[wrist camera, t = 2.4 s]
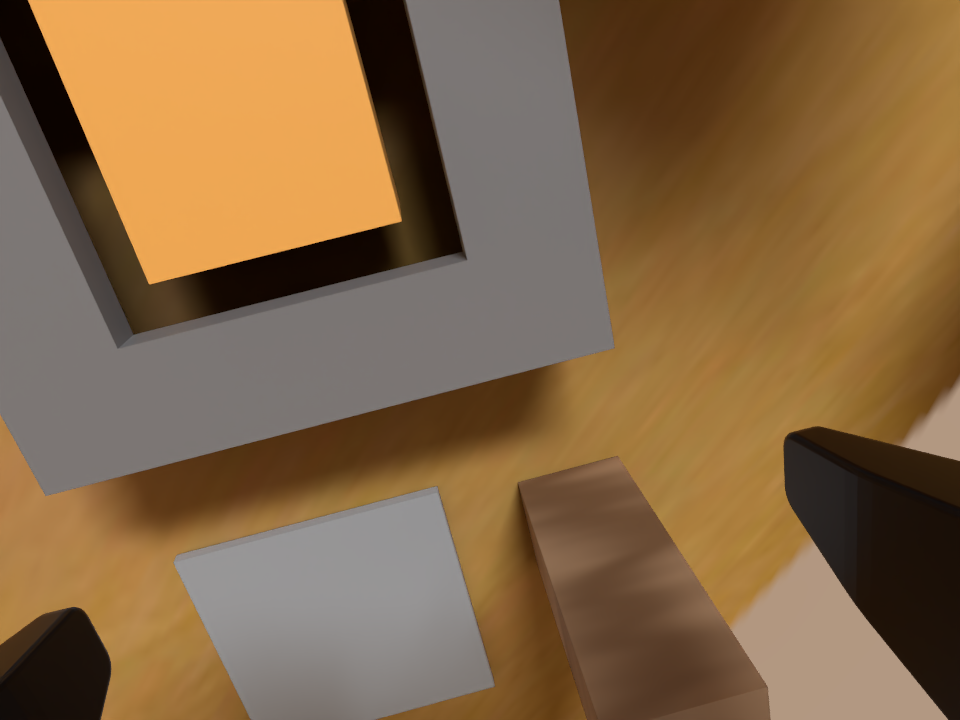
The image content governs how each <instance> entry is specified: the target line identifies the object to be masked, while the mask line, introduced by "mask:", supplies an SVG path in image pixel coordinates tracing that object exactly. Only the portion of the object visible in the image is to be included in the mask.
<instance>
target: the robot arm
mask: <svg viewBox="0 0 960 720" xmlns="http://www.w3.org/2000/svg"><path fill="white" fill-rule="evenodd" d="M784 475H785V491H786V495H787V498H788V501H789V503H790V505H791V507H792V509H793V510H794V512H795V513H796V515H797V517H798V518H799V520H800V521H801V523H802V524H803V526H804V527H805V529H806V530H807V532H808V533H809V535H810V536H811V538H812V540H813V541H814V543H815V544H816V546H817V547H818V549H819V550H820V552H821V553H822V555H823V556H824V558H825V559H826V561H827V563H828V564H829V566H830V567H831V568H832V570H833V572H834V573H835V575H836V576H837V578H838V579H839V581H840V582H841V584H842V586H843V587H844V589H845V590H846V592H847V593H848V594H849V596H850V597H851V599H852V600H853V602H854V603H855V605H856V606H857V607H858V609H859V610H860V611H861V612H862V614H863V615H864V616H865V618H866V619H867V620H868V621H869V623H870V624H871V625H872V626H873V628H874V629H875V630H876V631H877V633H878V634H879V635H880V636H881V637H882V638H883V640H884V641H885V642H886V644H887V645H888V646H889V647H890V648H891V650H892V651H893V652H894V653H895V655H896V656H897V657H898V658H899V660H900V661H901V662H902V663H903V665H904V666H905V667H906V668H907V669H908V671H909V672H910V673H911V674H912V675H913V677H914V678H915V679H916V680H917V682H918V683H919V684H920V685H921V687H922V688H923V689H924V690H925V691H926V693H927V694H928V695H929V697H930V698H931V699H932V700H933V701H934V703H935V704H936V705H937V706H938V708H939V709H940V710H941V711H942V713H943V714H944V715H945V716H946V717H947V719H948V720H960V461H957V460H953V459H949V458H945V457H941V456H937V455H933V454H929V453H925V452H921V451H917V450H913V449H909V448H905V447H901V446H897V445H893V444H889V443H885V442H881V441H877V440H873V439H869V438H865V437H861V436H857V435H853V434H848V433H844V432H840V431H836V430H832V429H828V428H824V427H819V426H817V427H811V428H807V429H802V430H798V431H794V432H791V433H789V434H788V435H787V436H786V437H785V440H784ZM110 677H111V661H110V657H109V655H108V652H107V650H106V649H105V647H104V645H103V643H102V641H101V639H100V637H99V636H98V634H97V632H96V630H95V628H94V626H93V625H92V623H91V621H90V619H89V617H88V615H87V614H86V613H85V612H84V611H83V610H82V609H80V608H77V607H70V608H66V609H62V610H58V611H54V612H50V613H46V614H43V615H41V616H39V617H38V618H36V619H35V620H34V621H32V622H31V623H30V624H28V625H27V626H25V627H24V628H23V629H21V630H20V631H19V632H17V633H16V634H15V635H13V636H12V637H11V638H9V639H8V640H6V641H5V642H4V643H2V644H1V645H0V720H101V716H102V712H103V707H104V703H105V699H106V694H107V690H108V686H109V681H110Z"/></svg>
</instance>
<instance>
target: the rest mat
mask: <svg viewBox="0 0 960 720" xmlns="http://www.w3.org/2000/svg"><path fill="white" fill-rule="evenodd" d="M173 563H174V565H175V567H176V569H177V571H178V573H179V575H180V577H181V579H182V581H183V583H184V585H185V587H186V589H187V591H188V593H189V595H190V597H191V599H192V601H193V603H194V605H195V607H196V609H197V611H198V614H199V616H200V618H201V620H202V622H203V624H204V626H205V628H206V630H207V632H208V634H209V636H210V638H211V640H212V642H213V644H214V646H215V648H216V650H217V652H218V654H219V656H220V658H221V660H222V662H223V664H224V666H225V668H226V670H227V672H228V674H229V676H230V679H231V681H232V683H233V685H234V687H235V689H236V691H237V693H238V695H239V697H240V699H241V701H242V703H243V705H244V707H245V709H246V711H247V713H248V715H249V717H250V719H251V720H376V719H379V718H383V717H387V716H390V715H394V714H398V713H401V712H405V711H408V710H412V709H416V708H419V707H423V706H426V705H430V704H434V703H437V702H441V701H445V700H448V699H452V698H455V697H459V696H463V695H466V694H470V693H473V692H477V691H481V690H484V689H488V688H492V687H495V684H494V679H493V675H492V672H491V668H490V665H489V661H488V658H487V655H486V651H485V648H484V644H483V641H482V638H481V634H480V631H479V627H478V624H477V620H476V617H475V614H474V610H473V607H472V603H471V600H470V596H469V593H468V590H467V586H466V583H465V579H464V576H463V573H462V569H461V566H460V562H459V559H458V555H457V552H456V549H455V545H454V542H453V538H452V535H451V532H450V528H449V525H448V521H447V518H446V514H445V511H444V508H443V504H442V501H441V497H440V494H439V490H438V487H437V486H436V487H432V488H428V489H424V490H421V491H417V492H413V493H409V494H406V495H402V496H398V497H394V498H391V499H387V500H383V501H379V502H375V503H372V504H368V505H364V506H360V507H357V508H353V509H349V510H345V511H341V512H338V513H334V514H330V515H326V516H323V517H319V518H315V519H311V520H307V521H304V522H300V523H296V524H292V525H289V526H285V527H281V528H277V529H273V530H270V531H266V532H262V533H258V534H255V535H251V536H247V537H243V538H240V539H236V540H232V541H228V542H224V543H221V544H217V545H213V546H209V547H206V548H202V549H198V550H194V551H190V552H187V553H183V554H179V555H177V556H176V558H175V560H174V562H173Z"/></svg>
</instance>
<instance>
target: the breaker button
mask: <svg viewBox="0 0 960 720" xmlns="http://www.w3.org/2000/svg"><path fill="white" fill-rule="evenodd" d="M28 2H29V4H30V6H31V9H32V11H33V13H34V16H35V18H36V20H37V23H38V25H39V27H40V30H41V32H42V34H43V37H44V39H45V41H46V44H47V46H48V48H49V51H50V53H51V55H52V58H53V60H54V62H55V65H56V67H57V70H58V72H59V74H60V77H61V79H62V81H63V84H64V86H65V88H66V91H67V93H68V95H69V98H70V100H71V102H72V105H73V107H74V109H75V112H76V114H77V116H78V119H79V121H80V123H81V126H82V128H83V130H84V133H85V135H86V138H87V140H88V142H89V145H90V147H91V149H92V152H93V154H94V156H95V159H96V161H97V163H98V166H99V168H100V170H101V173H102V175H103V177H104V180H105V182H106V184H107V187H108V189H109V191H110V194H111V196H112V198H113V201H114V203H115V206H116V208H117V210H118V213H119V215H120V217H121V220H122V222H123V224H124V227H125V229H126V231H127V234H128V236H129V238H130V241H131V243H132V245H133V248H134V250H135V252H136V255H137V257H138V259H139V262H140V264H141V266H142V269H143V271H144V274H145V276H146V278H147V281H148V283H149V284H153V283H157V282H161V281H165V280H169V279H173V278H177V277H181V276H185V275H189V274H193V273H197V272H201V271H205V270H209V269H213V268H217V267H221V266H225V265H229V264H233V263H237V262H241V261H245V260H249V259H253V258H257V257H261V256H265V255H269V254H273V253H277V252H281V251H285V250H289V249H293V248H297V247H301V246H305V245H309V244H313V243H317V242H321V241H325V240H329V239H333V238H337V237H341V236H345V235H349V234H353V233H357V232H361V231H365V230H369V229H373V228H377V227H381V226H385V225H389V224H393V223H397V222H401V221H402V218H401V209H400V201H399V198H398V194H397V190H396V186H395V183H394V179H393V175H392V171H391V168H390V164H389V160H388V156H387V153H386V149H385V145H384V141H383V138H382V134H381V130H380V126H379V123H378V119H377V115H376V111H375V108H374V104H373V100H372V96H371V93H370V89H369V85H368V82H367V78H366V74H365V70H364V67H363V63H362V59H361V55H360V52H359V48H358V44H357V40H356V37H355V33H354V29H353V25H352V22H351V18H350V14H349V10H348V7H347V3H346V0H28Z"/></svg>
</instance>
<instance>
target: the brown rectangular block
mask: <svg viewBox="0 0 960 720" xmlns="http://www.w3.org/2000/svg"><path fill="white" fill-rule="evenodd" d="M518 485H519V489H520V494H521V498H522V502H523V506H524V510H525V515H526V519H527V523H528V527H529V531H530V536H531V540H532V544H533V548H534V552H535V557H536V561H537V565H538V568H539V571H540V574H541V577H542V580H543V584H544V587H545V590H546V593H547V596H548V599H549V602H550V605H551V609H552V612H553V615H554V618H555V621H556V624H557V627H558V630H559V633H560V637H561V640H562V643H563V646H564V649H565V652H566V655H567V658H568V662H569V665H570V668H571V671H572V674H573V677H574V680H575V683H576V686H577V690H578V693H579V696H580V699H581V702H582V705H583V708H584V711H585V714H586V718H587V720H770V709H769V697H768V687H767V685H766V683H765V682H764V680H763V679H762V677H761V676H760V674H759V673H758V671H757V670H756V668H755V667H754V665H753V663H752V662H751V660H750V659H749V657H748V656H747V654H746V653H745V651H744V650H743V648H742V646H741V645H740V643H739V642H738V640H737V639H736V637H735V636H734V634H733V633H732V631H731V630H730V628H729V626H728V625H727V623H726V622H725V620H724V619H723V617H722V616H721V614H720V613H719V611H718V609H717V608H716V606H715V605H714V603H713V602H712V600H711V599H710V597H709V596H708V594H707V593H706V591H705V589H704V588H703V586H702V585H701V583H700V582H699V580H698V579H697V577H696V576H695V574H694V572H693V571H692V569H691V568H690V566H689V565H688V563H687V562H686V560H685V559H684V557H683V556H682V554H681V552H680V551H679V549H678V548H677V546H676V545H675V543H674V542H673V540H672V539H671V537H670V536H669V534H668V532H667V531H666V529H665V528H664V526H663V525H662V523H661V522H660V520H659V519H658V517H657V515H656V514H655V512H654V511H653V509H652V508H651V506H650V505H649V503H648V502H647V500H646V499H645V497H644V495H643V494H642V492H641V491H640V489H639V488H638V486H637V485H636V483H635V482H634V480H633V479H632V477H631V475H630V474H629V472H628V471H627V469H626V468H625V466H624V465H623V463H622V462H621V460H620V458H619V457H618V456H616V457H612V458H608V459H604V460H601V461H597V462H593V463H589V464H586V465H582V466H578V467H574V468H570V469H567V470H563V471H559V472H555V473H552V474H548V475H544V476H540V477H537V478H533V479H529V480H525V481H522V482H518Z"/></svg>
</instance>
